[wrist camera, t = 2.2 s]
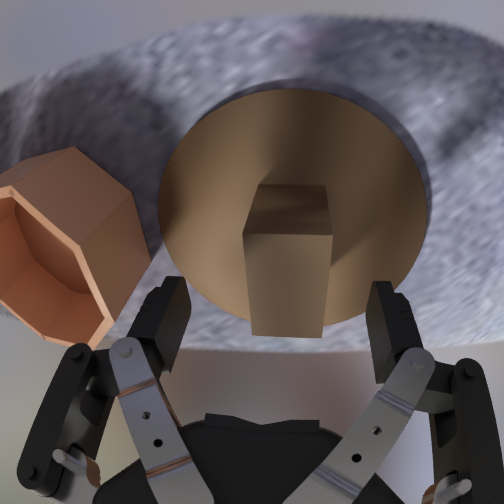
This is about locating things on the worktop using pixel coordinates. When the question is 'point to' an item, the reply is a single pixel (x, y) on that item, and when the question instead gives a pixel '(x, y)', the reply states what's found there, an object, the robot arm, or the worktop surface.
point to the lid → (291, 209)
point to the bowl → (68, 246)
